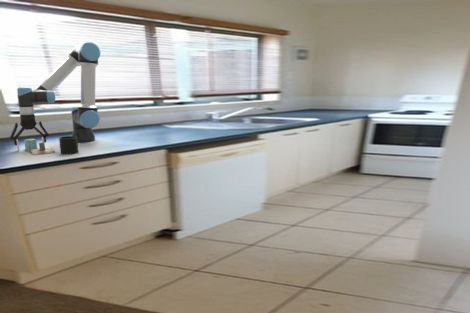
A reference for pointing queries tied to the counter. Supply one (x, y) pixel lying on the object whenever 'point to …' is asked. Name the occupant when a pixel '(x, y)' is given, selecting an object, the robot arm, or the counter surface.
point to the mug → (68, 145)
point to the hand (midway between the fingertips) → (31, 149)
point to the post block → (42, 150)
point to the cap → (30, 144)
